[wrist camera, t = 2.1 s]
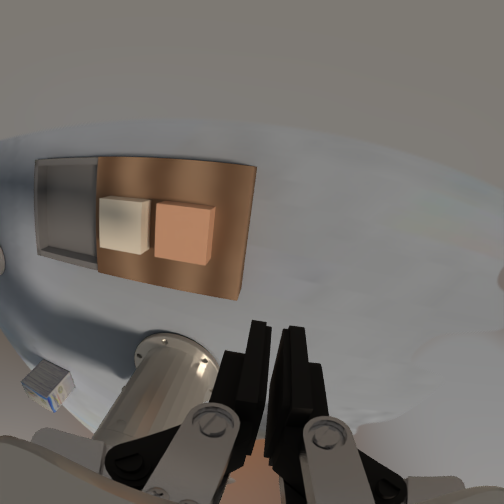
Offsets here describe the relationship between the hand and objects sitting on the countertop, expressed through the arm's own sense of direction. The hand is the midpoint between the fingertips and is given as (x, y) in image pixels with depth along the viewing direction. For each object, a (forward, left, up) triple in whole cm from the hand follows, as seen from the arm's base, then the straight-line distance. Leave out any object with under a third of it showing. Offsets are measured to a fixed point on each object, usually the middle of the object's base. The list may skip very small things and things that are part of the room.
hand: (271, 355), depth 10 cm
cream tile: (-11, +10, -16) cm, 22 cm away
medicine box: (-50, +1, -19) cm, 53 cm away
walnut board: (-8, +8, -19) cm, 22 cm away
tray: (-19, +17, -19) cm, 32 cm away
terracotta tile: (-6, +6, -16) cm, 18 cm away
